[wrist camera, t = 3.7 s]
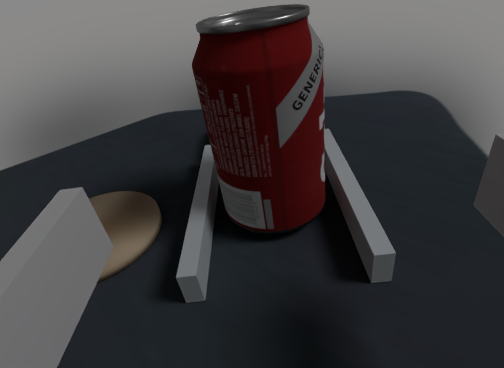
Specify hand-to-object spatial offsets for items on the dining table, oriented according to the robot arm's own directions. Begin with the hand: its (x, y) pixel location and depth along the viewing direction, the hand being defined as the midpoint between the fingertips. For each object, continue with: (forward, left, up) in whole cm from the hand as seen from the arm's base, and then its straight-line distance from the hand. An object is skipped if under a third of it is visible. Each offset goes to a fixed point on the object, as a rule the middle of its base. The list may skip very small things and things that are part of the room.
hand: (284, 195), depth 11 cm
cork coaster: (-15, +2, -7) cm, 17 cm away
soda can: (-4, +8, -8) cm, 12 cm away
